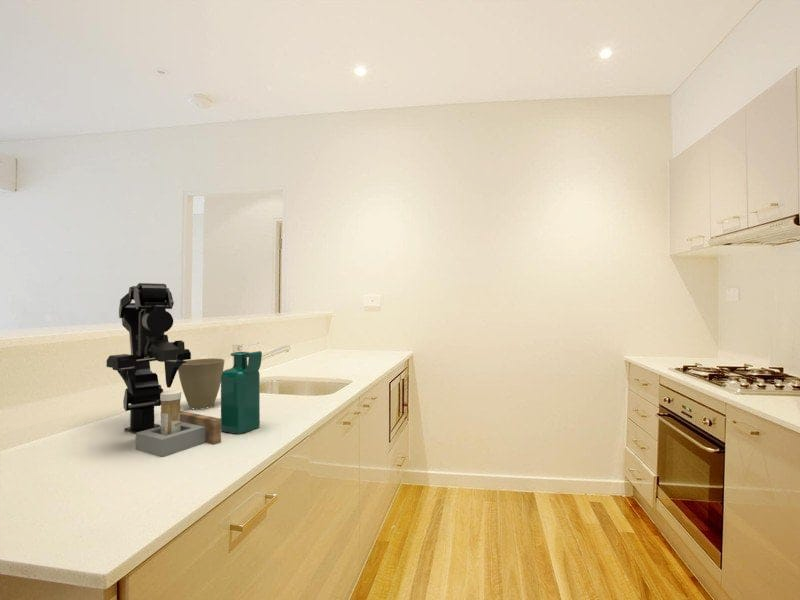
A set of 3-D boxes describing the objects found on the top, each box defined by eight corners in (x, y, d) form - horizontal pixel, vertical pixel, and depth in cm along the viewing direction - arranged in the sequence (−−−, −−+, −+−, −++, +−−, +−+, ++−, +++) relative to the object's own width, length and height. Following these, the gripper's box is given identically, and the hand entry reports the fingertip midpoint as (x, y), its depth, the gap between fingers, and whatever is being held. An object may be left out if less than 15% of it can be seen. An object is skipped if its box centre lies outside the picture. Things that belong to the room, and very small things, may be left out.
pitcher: (217, 431, 110) (217, 352, 111) (240, 423, 118) (240, 349, 119) (244, 435, 107) (244, 353, 107) (266, 426, 114) (266, 350, 115)
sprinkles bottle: (181, 446, 99) (182, 392, 99) (160, 450, 96) (160, 394, 97) (180, 441, 103) (180, 389, 103) (159, 444, 100) (159, 391, 100)
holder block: (135, 449, 97) (135, 432, 97) (179, 436, 107) (179, 421, 107) (162, 456, 92) (162, 439, 92) (205, 442, 101) (205, 426, 101)
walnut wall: (170, 434, 108) (170, 412, 109) (178, 432, 110) (178, 410, 110) (213, 444, 100) (213, 420, 100) (220, 442, 102) (220, 418, 102)
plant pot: (194, 401, 146) (194, 358, 147) (232, 402, 145) (232, 358, 145) (166, 412, 132) (166, 364, 132) (209, 413, 130) (209, 364, 130)
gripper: (131, 334, 92) (130, 402, 92) (204, 330, 108) (203, 387, 108) (105, 333, 97) (105, 396, 97) (178, 328, 114) (178, 383, 113)
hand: (151, 390), depth 104 cm, fingers open, 9 cm apart
